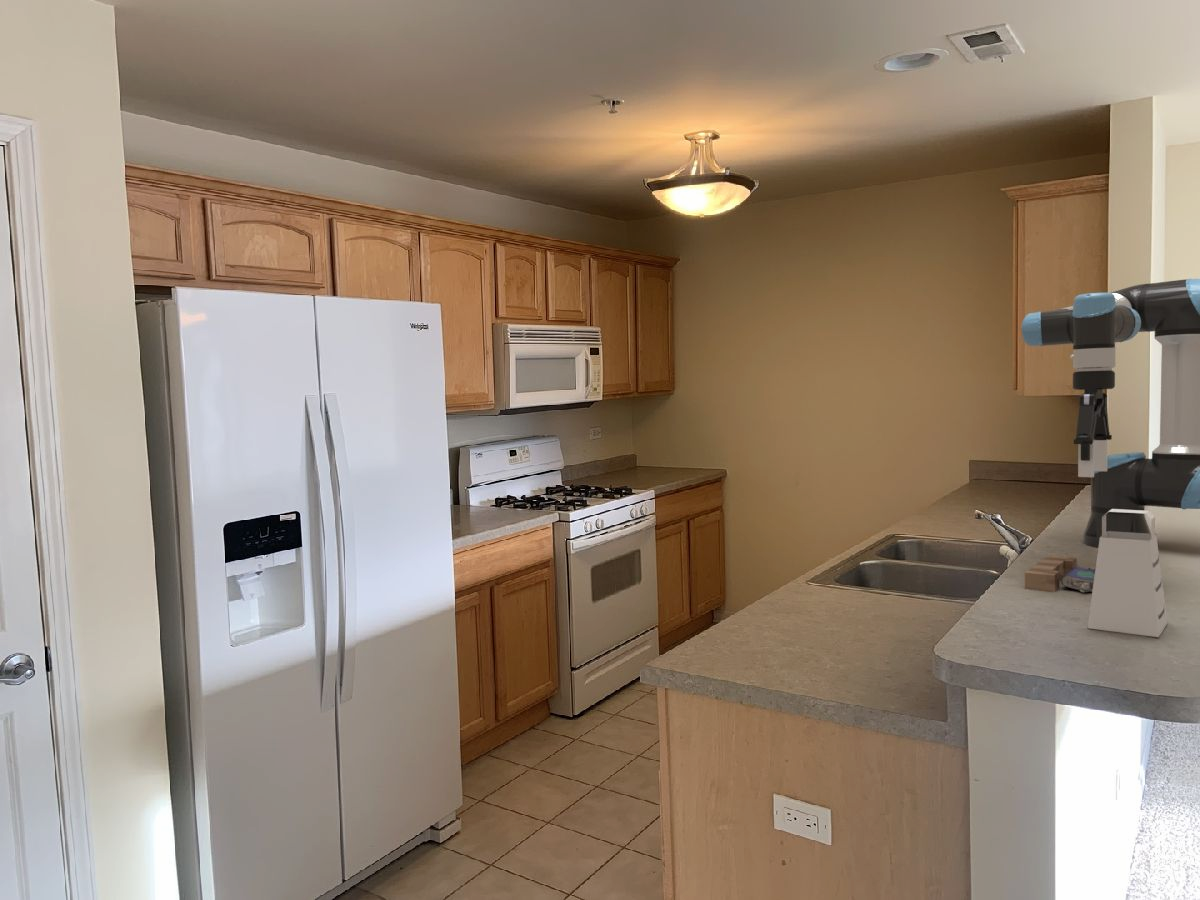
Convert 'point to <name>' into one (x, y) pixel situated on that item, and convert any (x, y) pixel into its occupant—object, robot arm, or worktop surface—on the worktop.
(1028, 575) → the holder
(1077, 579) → the flask
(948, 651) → the worktop surface
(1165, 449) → the robot arm
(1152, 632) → the grater
